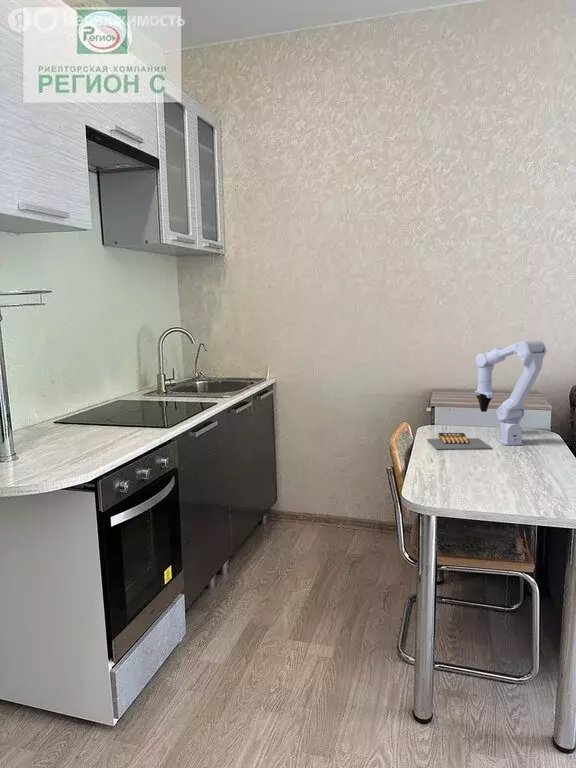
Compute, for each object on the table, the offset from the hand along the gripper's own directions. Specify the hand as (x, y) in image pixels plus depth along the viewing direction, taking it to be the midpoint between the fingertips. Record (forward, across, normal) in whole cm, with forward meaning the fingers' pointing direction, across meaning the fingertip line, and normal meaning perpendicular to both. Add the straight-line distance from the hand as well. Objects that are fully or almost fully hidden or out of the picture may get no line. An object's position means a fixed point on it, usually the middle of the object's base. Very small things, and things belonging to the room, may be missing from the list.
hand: (483, 411), depth 237 cm
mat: (+10, +17, -16) cm, 26 cm away
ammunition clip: (+9, +7, -16) cm, 19 cm away
